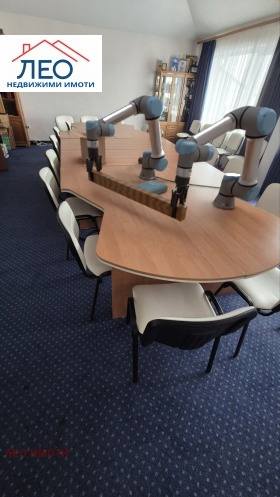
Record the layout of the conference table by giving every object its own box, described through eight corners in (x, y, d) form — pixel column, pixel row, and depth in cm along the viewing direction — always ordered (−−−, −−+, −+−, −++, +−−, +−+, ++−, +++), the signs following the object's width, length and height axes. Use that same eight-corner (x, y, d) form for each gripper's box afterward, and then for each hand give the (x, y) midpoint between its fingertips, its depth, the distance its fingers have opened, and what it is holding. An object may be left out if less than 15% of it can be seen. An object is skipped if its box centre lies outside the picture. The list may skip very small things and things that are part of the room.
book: (152, 185, 190) (153, 179, 187) (167, 191, 181) (167, 185, 178) (133, 191, 176) (133, 185, 173) (147, 198, 167) (148, 191, 164)
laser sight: (157, 166, 235) (158, 156, 229) (137, 164, 238) (137, 154, 232) (158, 164, 242) (159, 154, 236) (138, 161, 245) (139, 152, 239)
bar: (88, 180, 165) (87, 169, 160) (93, 179, 168) (92, 168, 163) (180, 221, 122) (182, 208, 118) (184, 218, 125) (187, 206, 121)
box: (116, 165, 229) (116, 136, 213) (83, 168, 214) (80, 137, 198) (102, 154, 259) (101, 128, 243) (71, 156, 244) (68, 129, 228)
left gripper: (85, 149, 142) (88, 184, 156) (106, 146, 153) (107, 179, 167) (78, 147, 146) (82, 182, 160) (99, 144, 157) (101, 177, 171)
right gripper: (179, 181, 105) (172, 223, 119) (198, 174, 116) (189, 213, 129) (166, 177, 109) (161, 218, 122) (186, 170, 119) (179, 209, 133)
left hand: (95, 180), depth 163 cm, fingers closed on bar, 4 cm apart
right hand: (175, 216), depth 126 cm, fingers closed on bar, 5 cm apart
